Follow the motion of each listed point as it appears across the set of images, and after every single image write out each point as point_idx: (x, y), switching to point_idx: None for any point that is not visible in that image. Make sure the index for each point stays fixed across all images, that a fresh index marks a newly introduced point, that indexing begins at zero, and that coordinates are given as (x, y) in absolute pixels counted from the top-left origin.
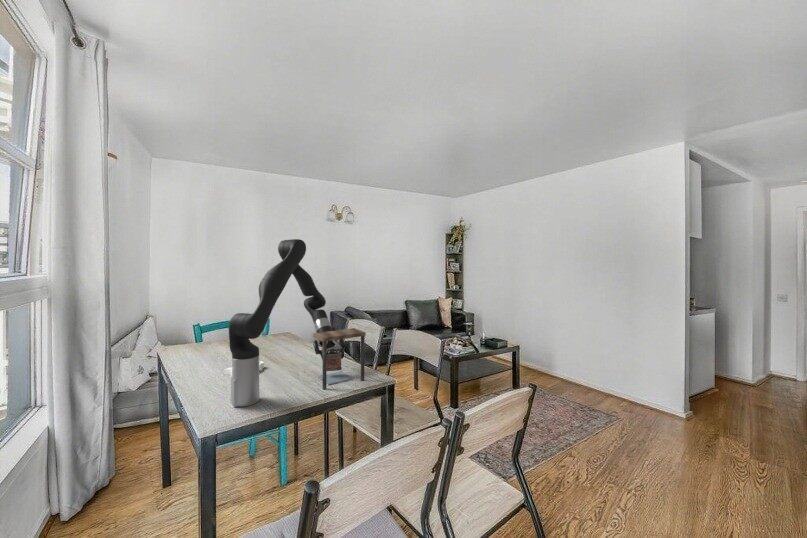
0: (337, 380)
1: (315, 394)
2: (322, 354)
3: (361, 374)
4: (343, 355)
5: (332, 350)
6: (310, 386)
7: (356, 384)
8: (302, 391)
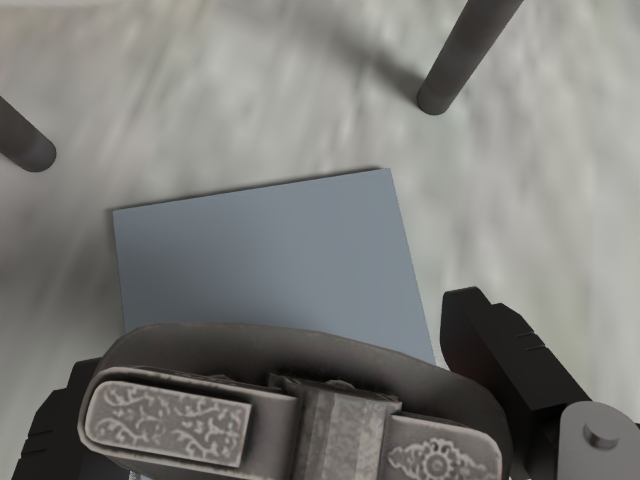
0: (282, 221)
1: (515, 31)
2: (557, 383)
3: (20, 114)
4: (76, 366)
5: (332, 389)
6: (539, 211)
7: (139, 80)
8: (608, 130)
